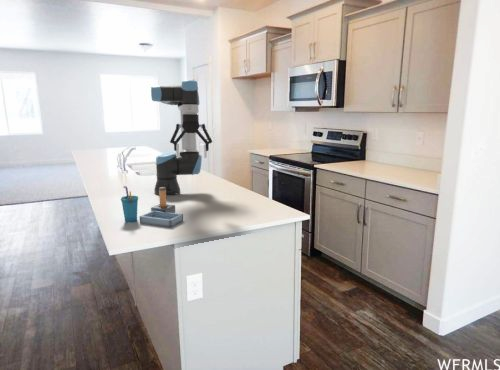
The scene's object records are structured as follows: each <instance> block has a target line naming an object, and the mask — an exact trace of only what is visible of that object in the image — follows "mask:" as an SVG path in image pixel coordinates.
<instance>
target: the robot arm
mask: <svg viewBox="0 0 500 370" xmlns="http://www.w3.org/2000/svg"><path fill="white" fill-rule="evenodd" d="M198 90H199V86H198V82H197V81H196V80H194V79H193V80H190V79H189V80H188V79H187V80H186V79H185V80H182V81H181V85H176V84H171V85H152V86H151V88H150V93H151V94H150V95H151V97H150V98H151V101H153V102H158V103H159V102H160V103H162V104H165V105H171V106H177V109H178V110H179V111H180V123H176V125H175V130H174V132H173V134H172V137H170V138H171V139H170V141H169V142H170V144H172V145H173V149H174V151H175V152H176V153H175V152H172V153H171V152H168V153H163V154H160V155H157V156H156V159H155V165H156V183H155V185H154V192H153V193H154V194H155V195H159V188H160V187H165V188H166V196H172V195H173V196H174V195H178V194H180V193H181V188H180V184H179V181H178V178H177V177H178V176H185V175H186V176H194V175H199V174H200V173H201V168H202V157H203V156H204V159H207V157H208V156H207V152H208V151H209V148H210V146H209V145H210V144H212V143H213V140H212V138H211V136H210V134H209V132H208V130H207V129H206V124H205V123H203V124H202V123H201V124H200V123H199V114H198V113H199V106H200V96H199V95H200V94H199V91H198ZM199 128H200V129H202V131H203V133H204V135H205V137H206V138H205V137H204V135H203V134H202V133H201V131H200V130H199ZM179 131H180V134H179V136H178V137H177V135H178V133H179ZM196 135H197V136H199V138H200V140H202V141H203V142H204V145H203V149H204V152H203V154H204V155H203V156H202V155H201V154H200V151H198V150H197V138H196V137H197V136H196ZM180 141H181V150H180V144H179V142H180Z"/></svg>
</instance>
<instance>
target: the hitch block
mask: <svg viewBox="0 0 500 370" xmlns="http://www.w3.org/2000/svg"><path fill="white" fill-rule="evenodd" d="M151 211H161V212H169V213H176V204H167V203H166V207H165V208H162V207H160V203H159V204H157V205H154V206H151V207H150V212H151Z"/></svg>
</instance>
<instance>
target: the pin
mask: <svg viewBox="0 0 500 370" xmlns="http://www.w3.org/2000/svg"><path fill="white" fill-rule="evenodd" d="M159 204H160V207H162V208H165V207H166V204H167V195H166V188H165V187H160V188H159Z"/></svg>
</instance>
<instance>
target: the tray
mask: <svg viewBox="0 0 500 370" xmlns="http://www.w3.org/2000/svg"><path fill="white" fill-rule="evenodd" d="M138 217H139V223H140V224H144V225H145V224H146V225H151V224H152V225H151V226H158V225H159V226H158V227H167V228H172V227H174V226H177V224H180V223H181V222H184V214H183V213H176V212H175V213H169V212H161V211H151V210H150V212H147V213H143V214H141V215H139V216H138Z"/></svg>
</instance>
